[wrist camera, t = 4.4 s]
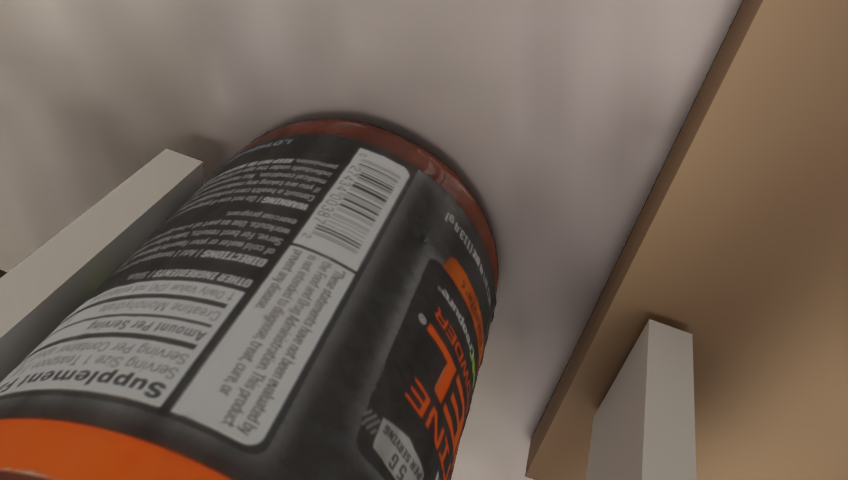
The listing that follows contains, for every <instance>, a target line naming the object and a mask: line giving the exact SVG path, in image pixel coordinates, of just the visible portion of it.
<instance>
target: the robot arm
mask: <svg viewBox="0 0 848 480" xmlns="http://www.w3.org/2000/svg"><path fill="white" fill-rule="evenodd" d="M202 186H203V161H200V160H197V159H194V158H192V157H189V156H186V155H183V154H180V153H177V152H175V151H172V150H169V149H165V150H164V151H162V152H161V153H160V154H159V155H157V156H156V157H155V158H153V159H152V160H151V161H150V162H148V163H147V164H146V165H144V166H143V167H142V168H141V169H139V170H138V171H137V172H135V173H134V174H133V175H132V176H130V177H129V178H128V179H127V180H125V181H124V182H123V183H121V184H120V185H119V186H118V187H116V188H115V189H114V190H112V191H111V192H110V193H109V194H107V195H106V196H105V197H104V198H102V199H101V200H100V201H98V202H97V203H96V204H95V205H93V206H92V207H91V208H89V209H88V210H87V211H86V212H84V213H83V214H82V215H80V216H79V217H78V218H77V219H75V220H74V221H73V222H72V223H70V224H69V225H68V226H66V227H65V228H64V229H63V230H61V231H60V232H59V233H57V234H56V235H55V236H54V237H52V238H51V239H50V240H49V241H47V242H46V243H45V244H43V245H42V246H41V247H40V248H38V249H37V250H36V251H34V252H33V253H32V254H31V255H29V256H28V257H27V258H25V259H24V260H23V261H22V262H20V263H19V264H18V265H17V266H15V267H14V268H13V269H11V270H10V271H9V272H8V273H7V272H5V271H2V270H0V383H1V382H2V381H3V380H4V379H5V378H6V377H7V375H8V374H9V373H11V372H12V371H13V370H14V369H15V368H17V366H18V365H19V364H20V363H21V362H22V361H23V360H24V359H25V358H26V357H27V356H28V355H29V354H30V353H31V352H32V351H33V350H34V349H35V348H36V347H37V346H38V345H39V344H41V343H42V342H43V341H44V340H45V339H46V338H47V337H48V336H49V335H50V334H51V333H52V332H53V331H54V330H55V329H56V328H57V327H58V326H59V325H60V323H61V322H62V321H63V320H64V319H65V318H67V317H68V316H69V315H70V314H71V313H73V312H74V311H75V310H76V309H77V308H79V307H80V305H81V304H82V303H83V302H84V301H85V300H87V299H88V298H89V296H90V295H91V294H92V293H93V292H94V291H95V290H96V289H97V288H98V287H99V286H100V285H101V284H102V283H103V282H104V281H105V280H106V279H107V278H109V277H110V276H111V275H112V274H113V272H114V271H115V270H116V269H117V268H119V267H120V266H121V265H122V264H123V263H124V262H125V261H126V260H128V259H129V258H130V257H131V256H132V254H133V253H134V252H135V251H136V250H137V249H138V248H139V247H140V246H141V245H142V244H143V243H145V242H146V241H147V239H148V238H149V237H150V236H151V235H152V234H153V233H154V232H155V231H156V230H157V229H159V228H160V227H161V226H162V225H163V224H164V223H165V222H166V221H167V219H168V218H169V217H171V216H172V215H173V214H174V213H175V212H176V211H177V210H178V209H179V208H180V207H181V206H182V205H184V204H185V203H186V202H187V201H188V200H189V199H190V197H191V196H193V195H194V194H195V193H196V192H197V191H198V190H199V189H200V188H201V187H202ZM586 480H697V479H696V443H695V408H694V372H693V337H692V334H690V333H688V332H685V331H682V330H679V329H676V328H673V327H671V326H668V325H665V324H662V323H659V322H656V321H654V320H651V319H649V320H648V322H647V324H646V326H645V327H644V329H643V331H642V333H641V335H640V336H639V338H638V340H637V342H636V343H635V345H634V347H633V349H632V350H631V352H630V354H629V356H628V357H627V359H626V361H625V363H624V364H623V366H622V368H621V370H620V372H619V373H618V375H617V377H616V379H615V380H614V382H613V384H612V386H611V387H610V389H609V391H608V393H607V394H606V396H605V398H604V400H603V401H602V403H601V405H600V407H599V409H598V410H597V412H596V414H595V416H594V419H593V427H592V435H591V443H590V451H589V459H588V467H587V475H586Z"/></svg>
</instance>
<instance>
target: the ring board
mask: <svg viewBox="0 0 848 480" xmlns="http://www.w3.org/2000/svg"><path fill="white" fill-rule="evenodd" d="M649 319H651V320H654V321H656V322H659V323H662V324H665V325H668V326H671V327H673V328H676V329H679V330H682V331H685V332H688V333H690V334H692V337H693V372H694V408H695V443H696V479H697V480H848V0H743V2H742V4H741V6H740V8H739V11H738V13H737V15H736V17H735V19H734V21H733V23H732V25H731V27H730V29H729V31H728V33H727V35H726V37H725V40H724V42H723V44H722V46H721V48H720V50H719V52H718V54H717V56H716V58H715V60H714V62H713V64H712V66H711V69H710V71H709V73H708V75H707V77H706V79H705V81H704V83H703V85H702V87H701V89H700V91H699V93H698V95H697V97H696V100H695V102H694V104H693V106H692V108H691V110H690V112H689V114H688V116H687V118H686V120H685V122H684V124H683V126H682V129H681V131H680V133H679V135H678V137H677V139H676V141H675V143H674V145H673V147H672V149H671V151H670V153H669V155H668V158H667V160H666V162H665V164H664V166H663V168H662V170H661V172H660V174H659V176H658V178H657V180H656V182H655V184H654V187H653V189H652V191H651V193H650V195H649V197H648V199H647V201H646V203H645V205H644V207H643V209H642V211H641V213H640V215H639V218H638V220H637V222H636V224H635V226H634V228H633V230H632V232H631V234H630V236H629V238H628V240H627V242H626V244H625V247H624V249H623V251H622V253H621V255H620V257H619V259H618V261H617V263H616V265H615V267H614V269H613V271H612V273H611V276H610V278H609V280H608V282H607V284H606V286H605V288H604V290H603V292H602V294H601V296H600V298H599V300H598V302H597V305H596V307H595V309H594V311H593V313H592V315H591V317H590V319H589V321H588V323H587V325H586V327H585V329H584V331H583V334H582V336H581V338H580V340H579V342H578V344H577V346H576V348H575V350H574V352H573V354H572V356H571V358H570V360H569V362H568V365H567V367H566V369H565V371H564V373H563V375H562V377H561V379H560V381H559V383H558V385H557V387H556V389H555V391H554V394H553V396H552V398H551V400H550V402H549V404H548V406H547V408H546V410H545V412H544V414H543V416H542V418H541V420H540V423H539V425H538V427H537V429H536V431H535V433H534V435H533V437H532V439H531V442H530V449H529V455H528V461H527V467H526V474H525V476H526V477H529V478H532V479H535V480H586V475H587V467H588V459H589V451H590V443H591V435H592V427H593V419H594V416H595V414H596V412H597V410H598V409H599V407H600V405H601V403H602V401H603V400H604V398H605V396H606V394H607V393H608V391H609V389H610V387H611V386H612V384H613V382H614V380H615V379H616V377H617V375H618V373H619V372H620V370H621V368H622V366H623V364H624V363H625V361H626V359H627V357H628V356H629V354H630V352H631V350H632V349H633V347H634V345H635V343H636V342H637V340H638V338H639V336H640V335H641V333H642V331H643V329H644V327H645V326H646V324H647V322H648V320H649Z"/></svg>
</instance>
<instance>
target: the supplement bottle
mask: <svg viewBox="0 0 848 480" xmlns="http://www.w3.org/2000/svg"><path fill="white" fill-rule="evenodd" d="M497 284H498V260H497V254H496V249H495V243H494V240H493V237H492V234H491V231H490V228H489V226H488V223H487V221H486V219H485V217H484V215H483V213H482V211H481V209H480V208H479V206H478V204H477V202H476V200H475V199H474V197H473V196H472V195H471V193H470V192H469V191H468V189H467V188H466V187H465V186H464V185H463V184H462V182H461V180H460V178H459V176H458V175H457V174H456V173H455V172H454V171H453V170H451V169H450V168H448V167H446V166H445V165H444V164H443V163H442V162H440V161H439V160H438V159H436V158H435V157H434V156H433V155H431V154H430V153H429V152H427V151H426V150H424V149H423V148H421V147H419V146H417V145H415V144H413V143H411V142H409V141H407V140H406V139H404V138H402V137H400V136H398V135H396V134H394V133H392V132H390V131H388V130H384V129H380V128H377V127H374V126H372V125H369V124H364V123H360V122H354V121H347V120H309V121H304V122H298V123H292V124H288V125H285V126H282V127H280V128H277V129H275V130H273V131H270V132H268V133H266V134H264V135H262V136H261V137H259V138H257V139H255V140H254V141H253V142H252V143H250V144H249V145H248V146H246V147H245V148H244V149H242V150H240V151H239V152H237V154H236V155H235V156H234V157H233V158H231V159H230V160H229V161H228V162H227V163H226V164H225V165H224V166H222V167H221V168H220V169H219V170H218V171H217V172H216V173H214V174H213V175H212V176H211V177H210V178H209V179H208V180H207V182H206V183H205V184H204V185H203V186H202V187H201V188H200V189H199V190H198V191H197V192H196V193H195V194H194V195H193V196H191V197H190V199H189V200H188V201H187V202H186V203H185V204H184V205H182V206H181V207H180V208H179V209H178V210H177V211H176V212H175V213H174V214H173V215H172V216H171V217H169V218H168V219H167V221H166V222H165V223H164V224H163V225H162V226H161V227H160V228H159V229H157V230H156V231H155V232H154V233H153V234H152V235H151V236H150V237H149V238H148V239H147V241H146V242H145V243H143V244H142V245H141V246H140V247H139V248H138V249H137V250H136V251H135V252H134V253H133V254H132V256H131V257H130V258H129V259H128V260H126V261H125V262H124V263H123V264H122V265H121V266H120V267H119V268H117V269H116V270H115V271H114V272H113V274H112V275H111V276H110V277H109V278H107V279H106V280H105V281H104V282H103V283H102V284H101V285H100V286H99V287H98V288H97V289H96V290H95V291H94V292H93V293H92V294H91V295H90V296H89V298H88V299H87V300H85V301H84V302H83V303H82V304H81V305H80V307H79V308H77V309H76V310H75V311H74V312H73V313H71V314H70V315H69V316H68V317H67V318H65V319H64V320H63V321H62V322H61V323H60V325H59V326H58V327H57V328H56V329H55V330H54V331H53V332H52V333H51V334H50V335H49V336H48V337H47V338H46V339H45V340H44V341H43V342H42V343H41V344H39V345H38V346H37V347H36V348H35V349H34V350H33V351H32V352H31V353H30V354H29V355H28V356H27V357H26V358H25V359H24V360H23V361H22V362H21V363H20V364H19V365H18V366H17V368H15V369H14V370H13V371H12V372H11V373H9V374H8V375H7V377H6V378H5V379H4V380H3V381H2V382H1V383H0V480H451V476H452V472H453V469H454V464H455V459H456V455H457V451H458V446H459V442H460V438H461V435H462V432H463V429H464V426H465V423H466V419H467V416H468V413H469V410H470V404H471V400H472V395H473V392H474V388H475V384H476V380H477V375H478V371H479V368H480V366H481V364H482V360H483V354H484V348H485V345H486V342H487V339H488V334H489V329H490V324H491V322H492V320H493V317H494V308H495V306H496V292H497Z"/></svg>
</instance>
